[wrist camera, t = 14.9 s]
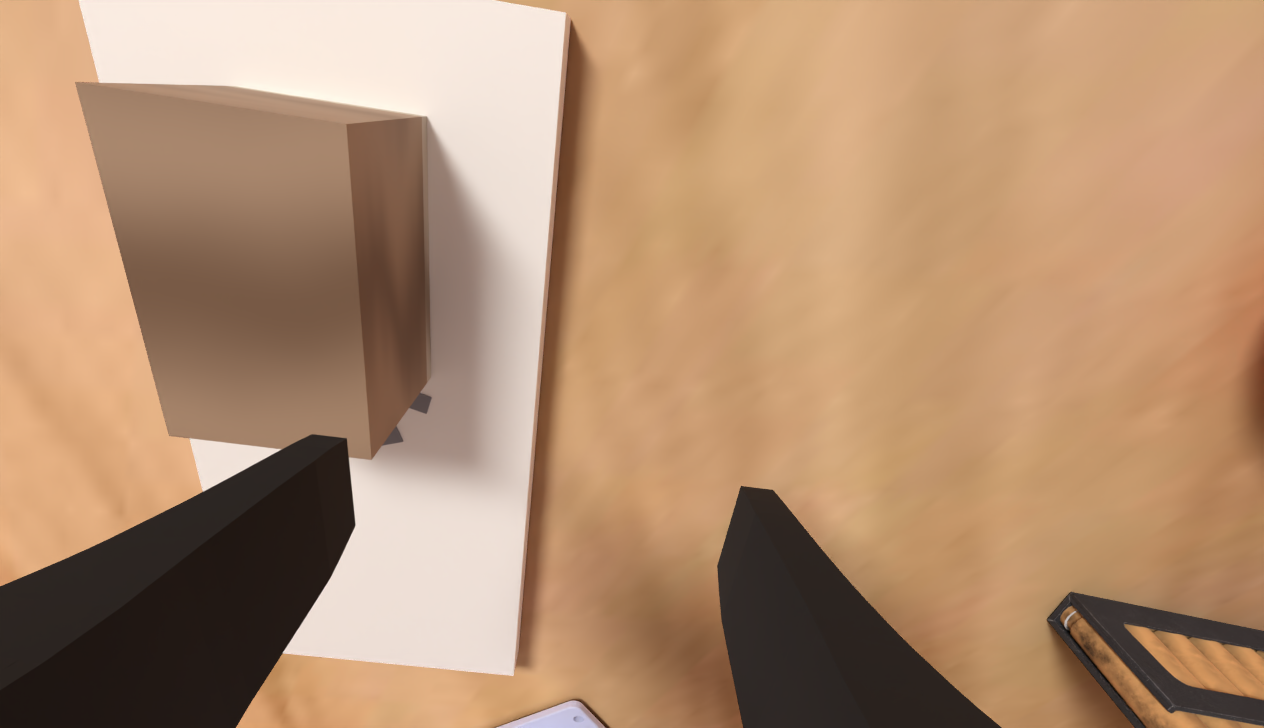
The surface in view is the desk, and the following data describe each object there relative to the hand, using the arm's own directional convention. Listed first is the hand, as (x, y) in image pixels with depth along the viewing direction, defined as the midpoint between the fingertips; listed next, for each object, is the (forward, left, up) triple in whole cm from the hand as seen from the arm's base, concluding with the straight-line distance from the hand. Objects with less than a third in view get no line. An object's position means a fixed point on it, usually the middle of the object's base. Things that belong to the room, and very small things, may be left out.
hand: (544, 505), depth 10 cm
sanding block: (+6, +5, -8) cm, 11 cm away
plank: (+1, +9, -9) cm, 13 cm away
